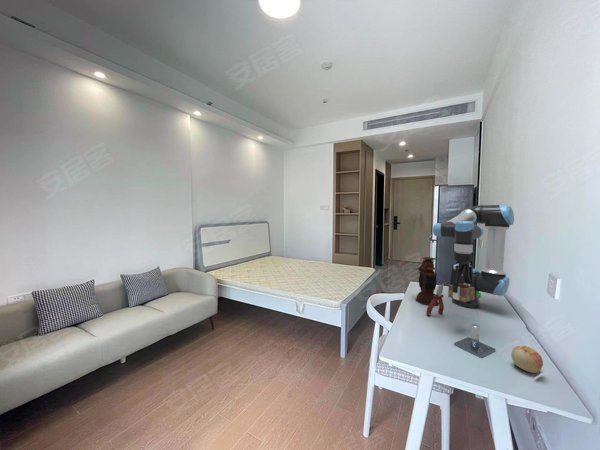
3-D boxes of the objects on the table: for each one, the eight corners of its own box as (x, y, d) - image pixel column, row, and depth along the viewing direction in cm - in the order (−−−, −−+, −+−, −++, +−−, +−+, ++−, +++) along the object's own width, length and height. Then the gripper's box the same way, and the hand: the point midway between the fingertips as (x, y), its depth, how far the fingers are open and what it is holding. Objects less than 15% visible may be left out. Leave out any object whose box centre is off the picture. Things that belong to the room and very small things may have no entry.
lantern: (434, 309, 148) (436, 261, 146) (411, 303, 158) (412, 258, 156) (442, 301, 161) (443, 257, 159) (420, 296, 170) (421, 254, 169)
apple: (527, 362, 97) (528, 343, 96) (549, 377, 88) (550, 356, 87) (504, 361, 97) (505, 342, 97) (523, 376, 88) (525, 355, 88)
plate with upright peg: (468, 339, 114) (469, 318, 113) (495, 351, 104) (496, 328, 104) (454, 344, 109) (455, 323, 108) (481, 358, 99) (482, 334, 99)
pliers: (436, 284, 133) (432, 282, 135) (428, 317, 137) (424, 314, 139) (450, 283, 137) (446, 281, 139) (443, 314, 141) (439, 312, 143)
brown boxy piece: (457, 294, 126) (458, 283, 125) (474, 299, 118) (475, 287, 118) (448, 296, 122) (448, 285, 122) (464, 302, 115) (465, 289, 115)
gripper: (467, 249, 127) (465, 292, 128) (442, 252, 118) (440, 298, 119) (483, 252, 120) (481, 296, 121) (458, 255, 111) (456, 303, 112)
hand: (461, 297), depth 120 cm, fingers closed on brown boxy piece, 8 cm apart
